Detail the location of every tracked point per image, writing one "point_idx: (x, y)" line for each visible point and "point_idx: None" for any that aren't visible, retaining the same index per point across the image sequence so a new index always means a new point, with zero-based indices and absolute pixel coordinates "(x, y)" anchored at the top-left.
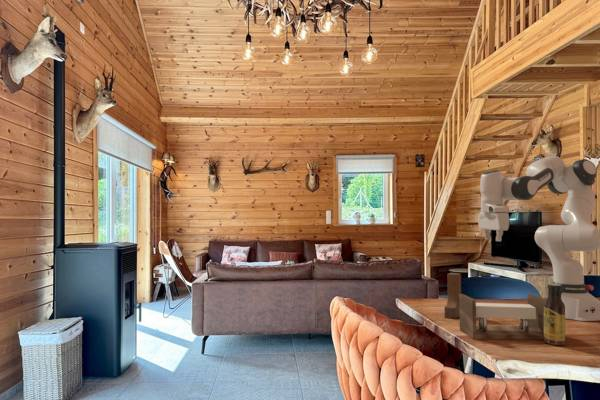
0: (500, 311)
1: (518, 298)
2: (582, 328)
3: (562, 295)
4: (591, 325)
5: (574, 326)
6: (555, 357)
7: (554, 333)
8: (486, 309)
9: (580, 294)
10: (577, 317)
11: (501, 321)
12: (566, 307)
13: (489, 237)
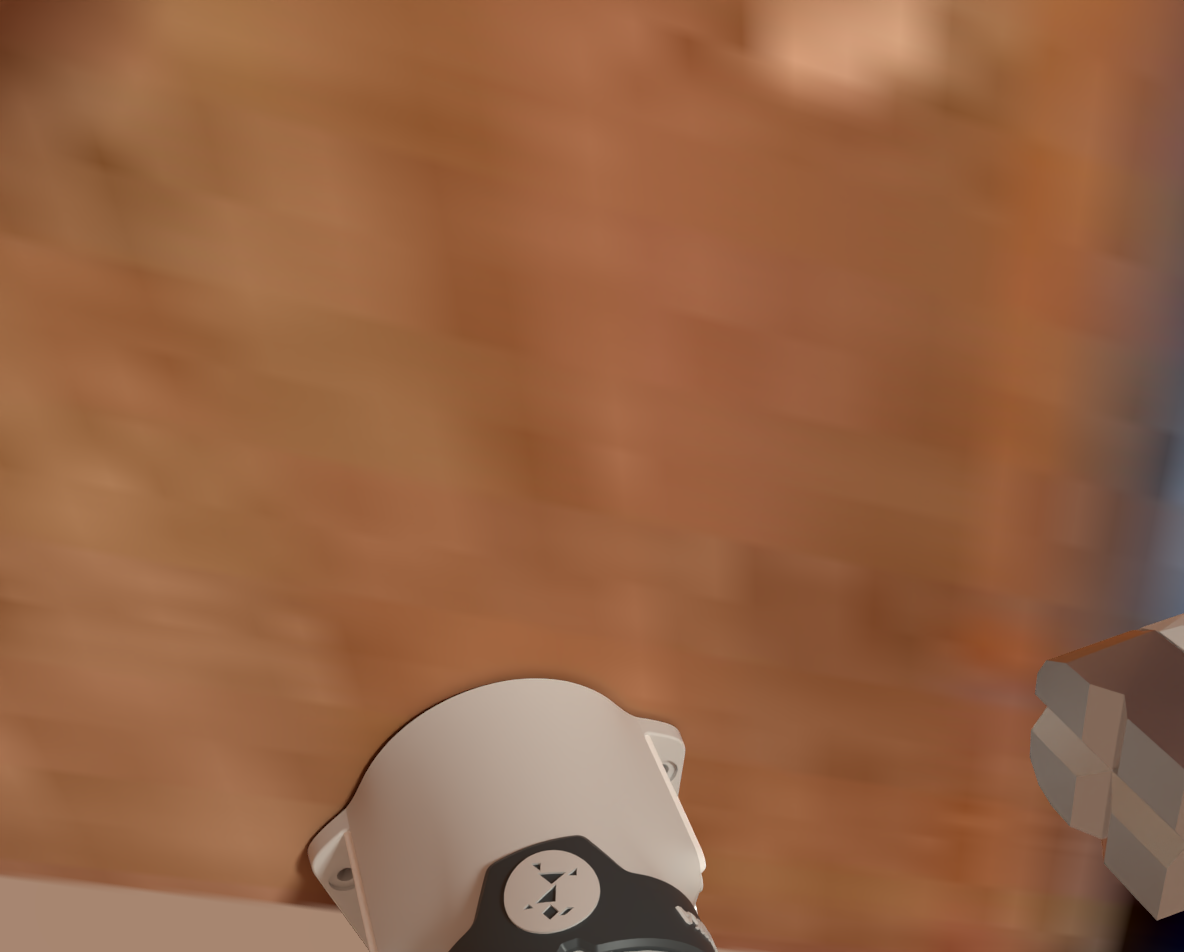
0: None
1: (1173, 558)
2: (15, 808)
3: (467, 901)
4: (172, 876)
5: (80, 767)
6: None
7: None
8: None
9: None
10: (346, 838)
11: (76, 137)
12: (408, 835)
13: (1107, 816)
